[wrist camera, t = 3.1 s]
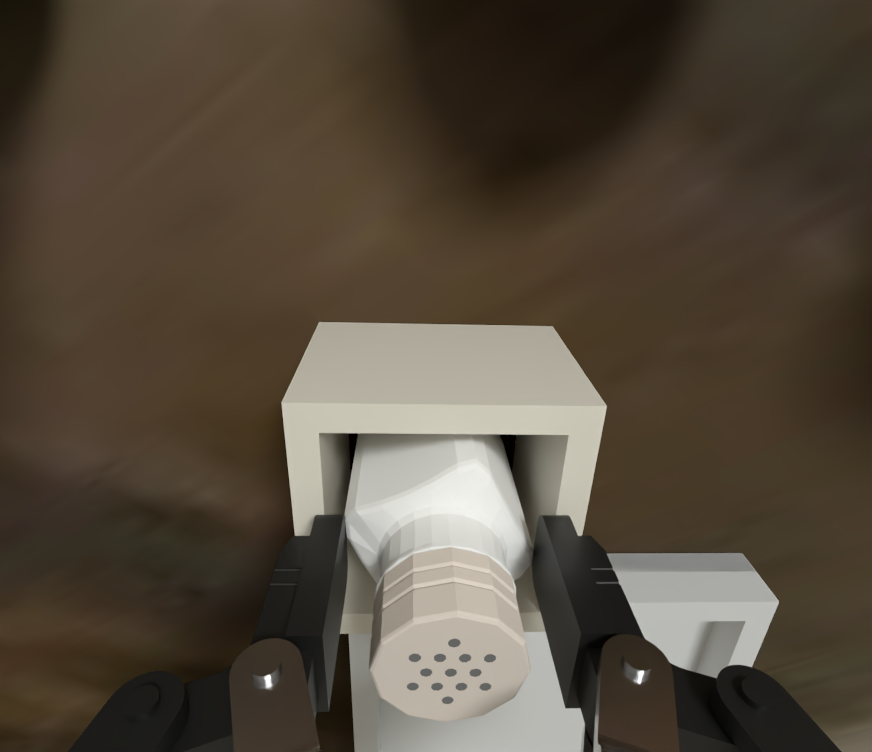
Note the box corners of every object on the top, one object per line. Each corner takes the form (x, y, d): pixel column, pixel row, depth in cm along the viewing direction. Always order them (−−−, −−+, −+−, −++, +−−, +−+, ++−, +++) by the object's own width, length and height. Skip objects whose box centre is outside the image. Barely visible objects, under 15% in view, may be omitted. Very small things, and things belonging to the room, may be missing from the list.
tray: (742, 553, 22) (779, 601, 20) (660, 778, 29) (681, 834, 27) (354, 554, 22) (346, 604, 19) (363, 785, 28) (359, 843, 26)
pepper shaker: (459, 355, 18) (504, 568, 9) (506, 444, 20) (580, 696, 11) (356, 403, 19) (308, 645, 10) (409, 487, 20) (407, 756, 12)
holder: (552, 326, 18) (606, 406, 13) (528, 510, 21) (563, 631, 16) (319, 322, 17) (281, 402, 12) (331, 510, 21) (304, 634, 16)
